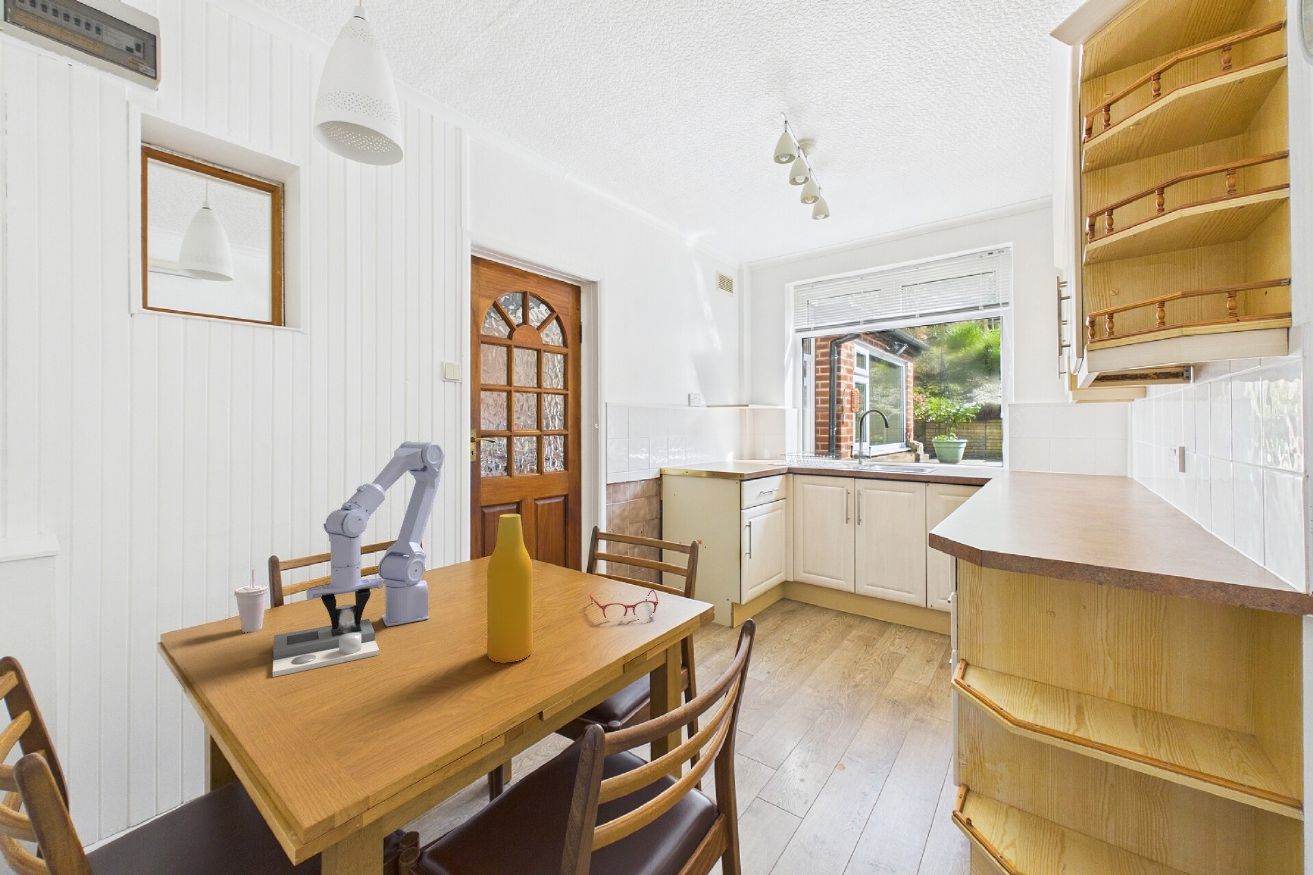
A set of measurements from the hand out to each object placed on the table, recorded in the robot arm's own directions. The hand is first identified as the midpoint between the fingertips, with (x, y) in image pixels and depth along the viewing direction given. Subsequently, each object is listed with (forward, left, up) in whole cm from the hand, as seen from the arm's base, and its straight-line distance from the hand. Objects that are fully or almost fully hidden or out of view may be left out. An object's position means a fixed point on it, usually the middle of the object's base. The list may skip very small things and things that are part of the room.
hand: (346, 625), depth 119 cm
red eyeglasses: (-61, +17, -4) cm, 64 cm away
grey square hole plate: (+4, 0, -3) cm, 5 cm away
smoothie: (+18, -20, -4) cm, 27 cm away
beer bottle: (-27, +27, -4) cm, 39 cm away
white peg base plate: (+4, +9, -3) cm, 10 cm away
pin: (0, 0, -2) cm, 2 cm away
